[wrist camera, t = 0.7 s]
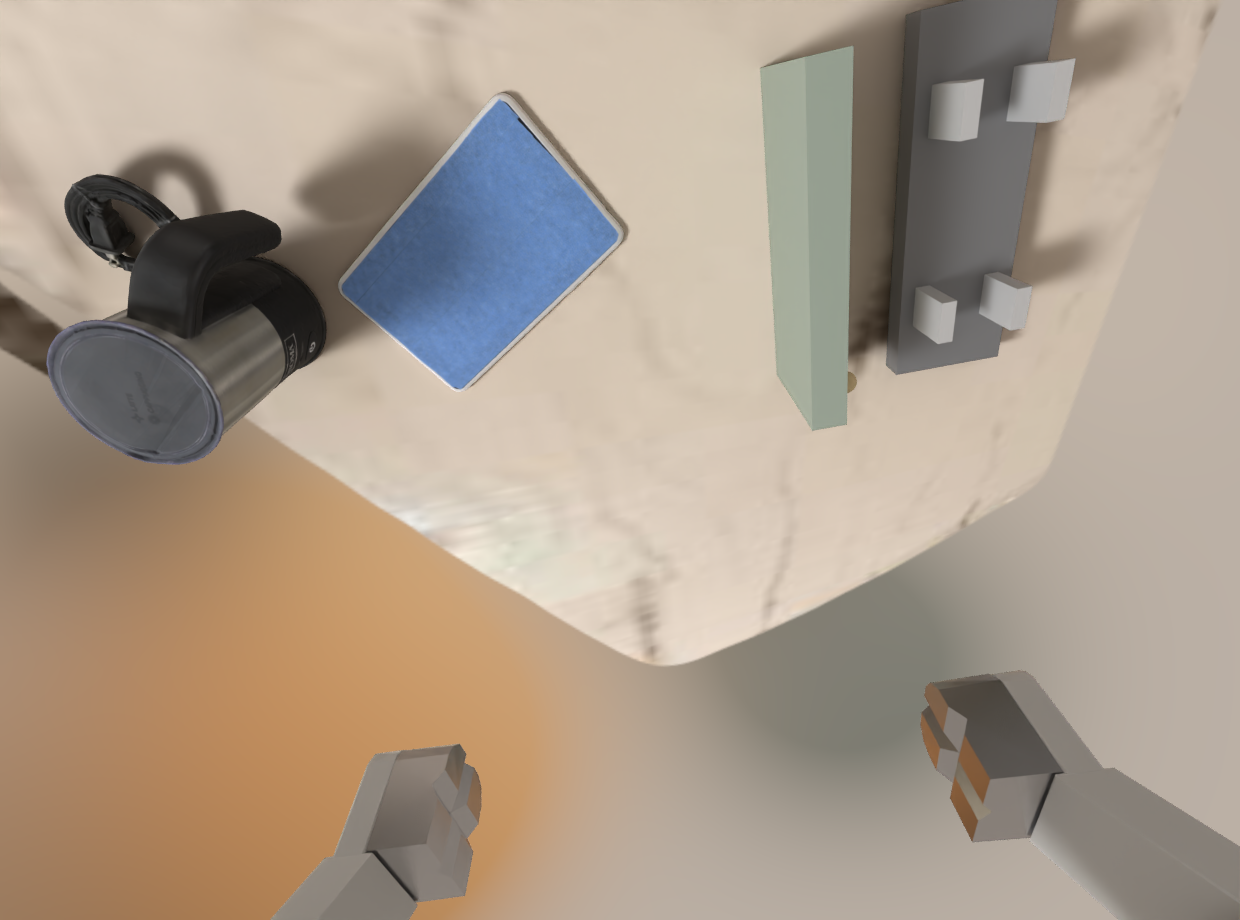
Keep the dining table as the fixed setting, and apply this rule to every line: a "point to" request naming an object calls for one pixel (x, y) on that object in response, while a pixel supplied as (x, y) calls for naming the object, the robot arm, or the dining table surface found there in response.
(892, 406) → the dining table surface
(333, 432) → the dining table surface
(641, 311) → the dining table surface
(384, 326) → the tablet computer
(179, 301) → the milk frother
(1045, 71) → the hinge base
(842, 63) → the cabinet door
